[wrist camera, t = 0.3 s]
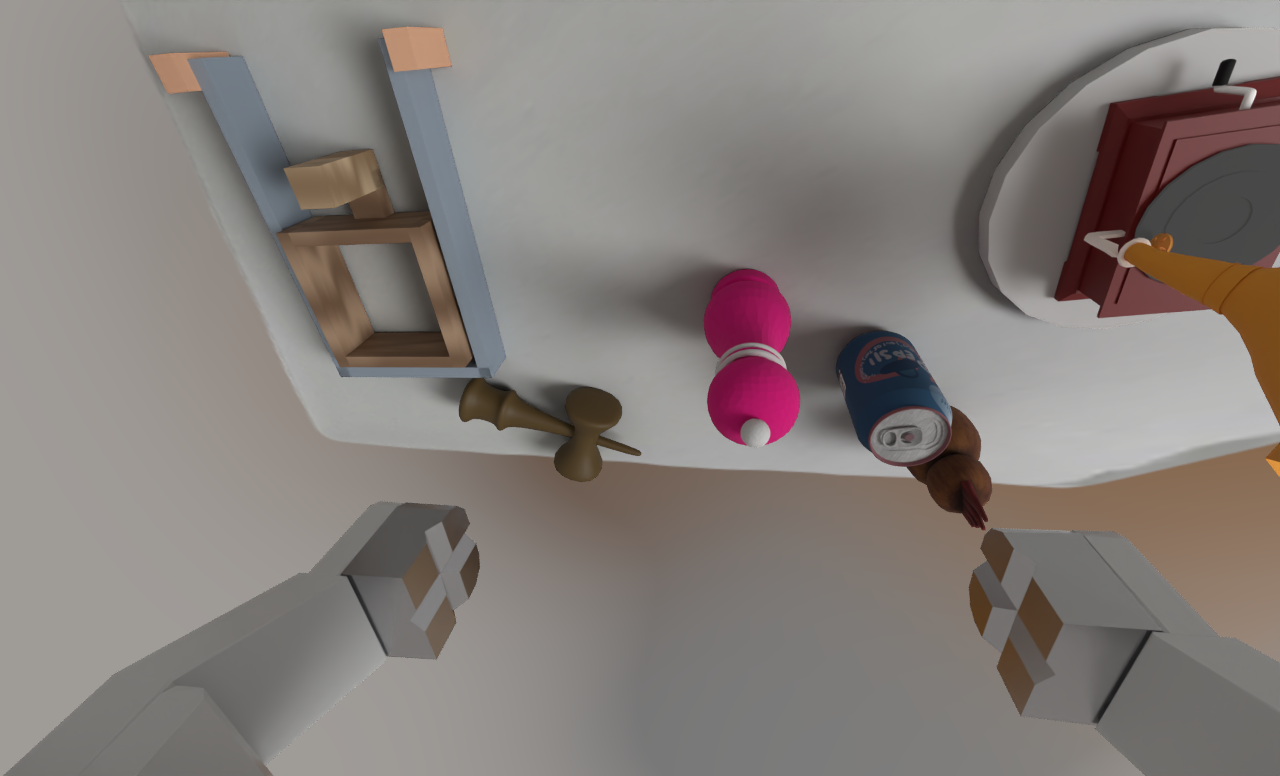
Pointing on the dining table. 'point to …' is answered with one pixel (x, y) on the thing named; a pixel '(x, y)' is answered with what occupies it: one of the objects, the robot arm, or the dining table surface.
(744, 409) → the pepper mill
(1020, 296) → the gramophone
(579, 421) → the kendama
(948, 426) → the soda can
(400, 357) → the wooden square frame
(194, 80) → the frame
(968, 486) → the wooden figurine
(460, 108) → the dining table surface
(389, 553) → the robot arm
